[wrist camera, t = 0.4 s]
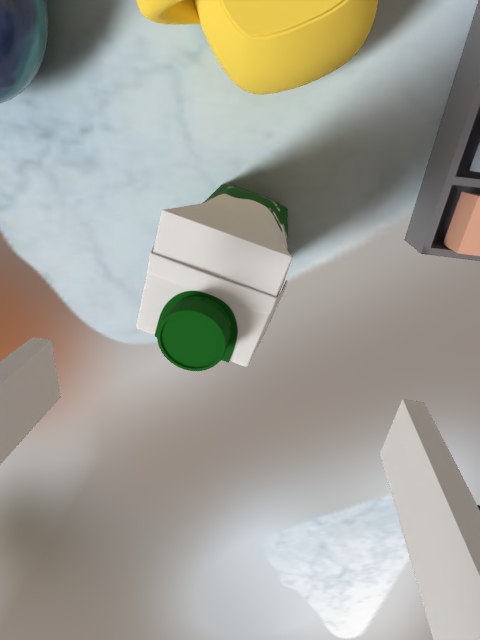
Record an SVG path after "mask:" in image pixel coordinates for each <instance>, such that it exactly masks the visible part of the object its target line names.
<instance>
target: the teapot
mask: <svg viewBox="0 0 480 640" xmlns="http://www.w3.org/2000/svg"><path fill="white" fill-rule="evenodd" d="M378 1H379V0H137V4H138V7H139V9H140V11H141V13H142V14H143V15H144V16H145V17H146V18H148V19H149V20H151V21H154V22H157V23H161V24H201V26H202V28H203V31H204V33H205V36H206V38H207V41H208V43H209V45H210V47H211V48H212V50H213V52H214V54H215V56H216V58H217V59H218V61H219V63H220V64H221V66H222V67H223V69H224V70H225V72H226V73H227V74H228V76H229V77H230V79H231V80H232V81H233V82H234V83H235V84H236V85H237V86H238V87H240V88H242V89H243V90H245V91H247V92H250V93H253V94H262V95H264V94H270V93H277V92H281V91H286V90H290V89H293V88H297V87H300V86H303V85H306V84H308V83H310V82H313V81H315V80H317V79H319V78H321V77H323V76H325V75H327V74H329V73H331V72H332V71H334V70H336V69H337V68H339V67H341V66H342V65H344V64H345V63H347V62H348V61H349V60H350V59H351V58H352V57H353V56H354V55H356V53H357V52H358V51H359V49H360V48H361V47H362V45H363V44H364V42H365V40H366V38H367V36H368V35H369V33H370V30H371V27H372V25H373V22H374V19H375V15H376V11H377V6H378Z"/></svg>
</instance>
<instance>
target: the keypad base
mask: <svg viewBox="0 0 480 640" xmlns="http://www.w3.org/2000/svg"><path fill="white" fill-rule="evenodd" d="M479 142H480V0H479V1H478V4H477V7H476V11H475V14H474V17H473V20H472V24H471V27H470V30H469V33H468V36H467V40H466V43H465V46H464V49H463V53H462V56H461V59H460V62H459V66H458V69H457V72H456V75H455V78H454V82H453V85H452V88H451V91H450V95H449V98H448V101H447V104H446V108H445V111H444V114H443V117H442V120H441V124H440V127H439V130H438V133H437V137H436V140H435V143H434V146H433V150H432V153H431V156H430V159H429V162H428V166H427V169H426V172H425V175H424V179H423V182H422V185H421V188H420V191H419V195H418V198H417V201H416V204H415V208H414V211H413V214H412V217H411V221H410V224H409V227H408V230H407V233H406V237H405V241H407V242H408V243H409V244H410V245H411V246H413V247H414V248H415V249H416V250H417V251H419V252H420V253H421V254H429V255H436V256H445V257H452V258H460V259H468V260H475V261H480V256H475V255H467V254H459V253H456V252H454V251H453V250H451V249H450V248H448V247H447V246H445V245H444V244H443V242H444V239H445V237H446V234H447V231H448V228H449V225H450V223H451V220H452V217H453V214H454V212H455V209H456V206H457V203H458V201H459V198H460V195H461V192H469V193H478V194H480V172H474V171H469V170H470V167H471V165H472V162H473V159H474V156H475V153H476V151H477V148H478V145H479Z"/></svg>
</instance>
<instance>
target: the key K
mask: <svg viewBox="0 0 480 640" xmlns="http://www.w3.org/2000/svg"><path fill="white" fill-rule="evenodd" d="M469 171H474V172H480V142H479V145H478V148H477V151H476V153H475V156H474V159H473V162H472V165H471V167H470V170H469Z"/></svg>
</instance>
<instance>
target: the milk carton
mask: <svg viewBox="0 0 480 640" xmlns="http://www.w3.org/2000/svg"><path fill="white" fill-rule="evenodd" d="M287 211H288V209H287V208H285V207H283V206H282V205H280V204H278V203H276V202H274V201H272V200H270V199H268V198H266V197H263V196H260V195H258V194H255V193H252V192H249V191H247V190H244V189H241V188H239V187H234V186H228V185H221V186H220V187H219V188H218V189H217V190H216V191H215V192H214V193H213V194H212V195H211V196H210V197H209V198H208V199H207V200H206V201H205V202H203V203H202V204H197V205H191V206H185V207H179V208H172V209H165V210H162V213H161V218H160V222H159V227H158V231H157V236H156V241H155V244H154V246H153V248H152V250H151V254H150V258H149V263H148V268H147V276H146V281H145V286H144V291H143V296H142V301H141V306H140V311H139V316H138V321H137V326H136V327H137V328H138V329H140V330H142V331H145V332H149V333H152V334H155V337H157V339H158V344H159V347H160V349H161V351H162V353H163V354H164V356H165V357H166V358H167V359H168V360H169V361H170V362H171V363H173V364H174V365H176V366H178V367H180V368H183V369H186V370H190V371H202V370H206V369H209V368H211V367H213V366H214V365H216V364H217V363H218V362H219V361H221V360H223V361H226V362H229V361H232V362H234V363H237V364H239V365H242V366H248V365H249V363H250V361H251V359H252V357H253V355H254V353H255V351H256V349H257V347H258V345H259V343H260V342H261V340H262V338H263V336H264V334H265V331H266V330H267V328H268V325H269V323H270V321H271V319H272V316H273V314H274V312H275V309H276V307H277V305H278V303H279V301H280V299H281V297H282V294H283V292H284V290H285V287H286V284H287V280H286V282H285V285H284V287H283V289H282V291H281V293H280V294H279V292H280V290H281V287H282V285H283V283H284V280H285V277H286V274H287V271H288V269H289V266H290V263H291V260H292V256H291V255H290V253H289V252H288V250H287V249H288V241H287V239H288V220H287ZM278 294H279V295H278Z"/></svg>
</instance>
